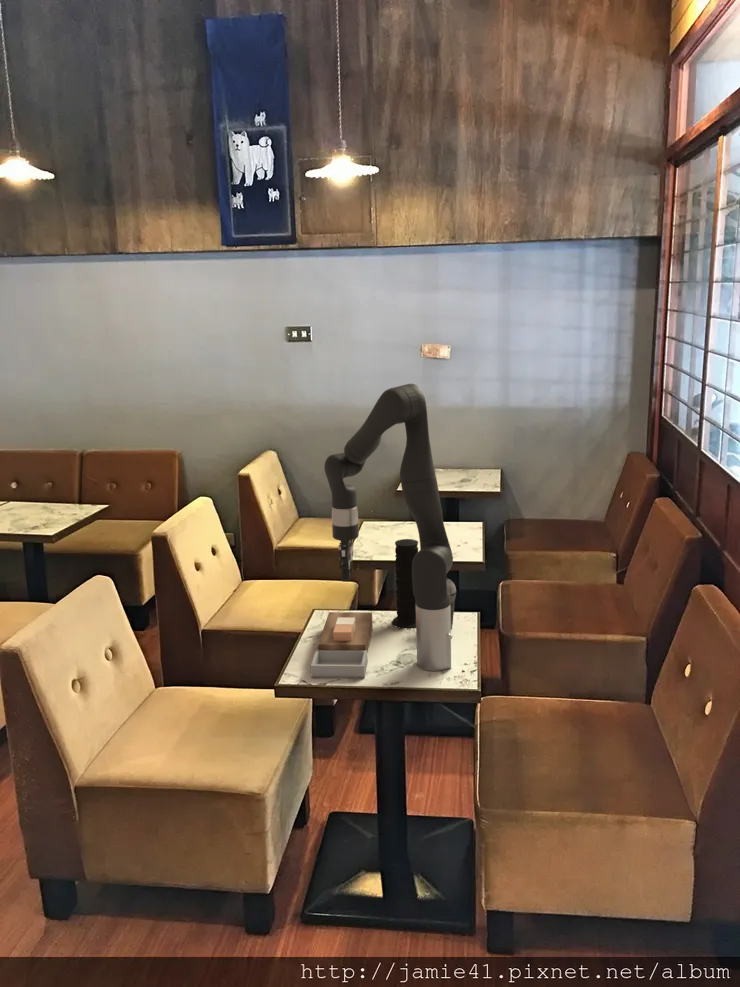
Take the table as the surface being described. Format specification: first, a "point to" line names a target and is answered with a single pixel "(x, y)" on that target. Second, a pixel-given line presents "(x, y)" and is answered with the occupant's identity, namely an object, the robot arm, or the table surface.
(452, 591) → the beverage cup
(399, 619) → the handle grip
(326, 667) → the box
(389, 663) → the table surface
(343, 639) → the terracotta tile
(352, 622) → the cream tile
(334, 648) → the walnut platform
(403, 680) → the table surface
